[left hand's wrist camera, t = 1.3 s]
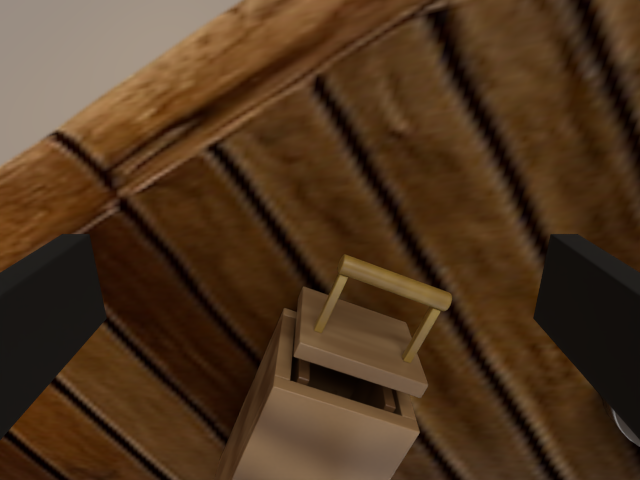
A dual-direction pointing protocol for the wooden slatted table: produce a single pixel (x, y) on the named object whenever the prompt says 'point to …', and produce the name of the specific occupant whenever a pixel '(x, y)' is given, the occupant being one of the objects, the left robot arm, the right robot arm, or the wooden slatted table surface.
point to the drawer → (362, 339)
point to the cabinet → (311, 427)
